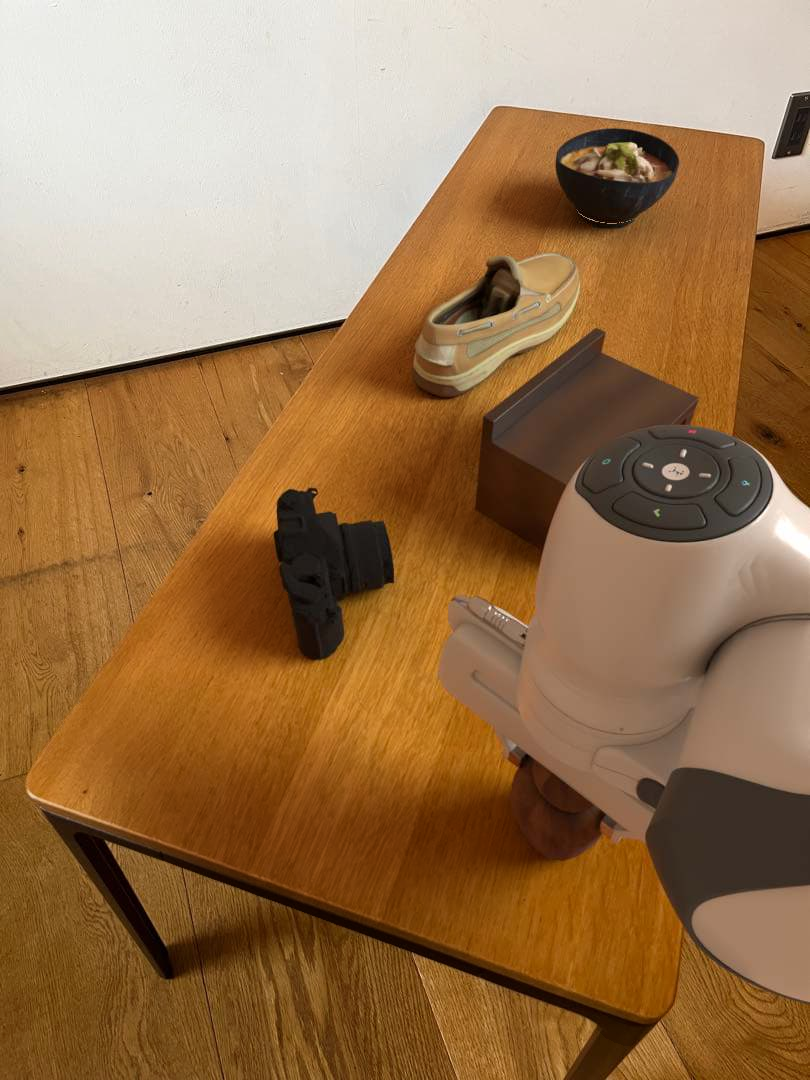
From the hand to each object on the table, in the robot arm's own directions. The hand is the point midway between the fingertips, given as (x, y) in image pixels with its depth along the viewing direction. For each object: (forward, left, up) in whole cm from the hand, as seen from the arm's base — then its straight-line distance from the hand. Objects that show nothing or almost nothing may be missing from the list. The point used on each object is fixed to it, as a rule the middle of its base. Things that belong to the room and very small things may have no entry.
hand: (564, 791), depth 52 cm
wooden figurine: (0, 0, -6) cm, 6 cm away
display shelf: (+18, -30, -6) cm, 36 cm away
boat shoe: (+39, -46, -6) cm, 60 cm away
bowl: (+47, -81, -6) cm, 94 cm away
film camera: (+27, -5, -6) cm, 28 cm away
